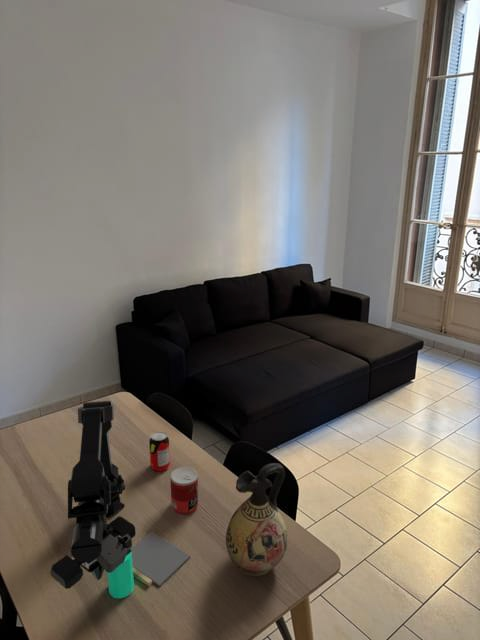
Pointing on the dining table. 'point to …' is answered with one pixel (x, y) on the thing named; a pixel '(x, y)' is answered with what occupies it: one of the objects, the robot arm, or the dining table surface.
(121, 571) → the candle
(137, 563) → the mat
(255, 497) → the ceramic jug
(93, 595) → the dining table surface
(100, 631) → the dining table surface
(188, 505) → the canned food
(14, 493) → the dining table surface
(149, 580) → the strip
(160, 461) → the beverage can
